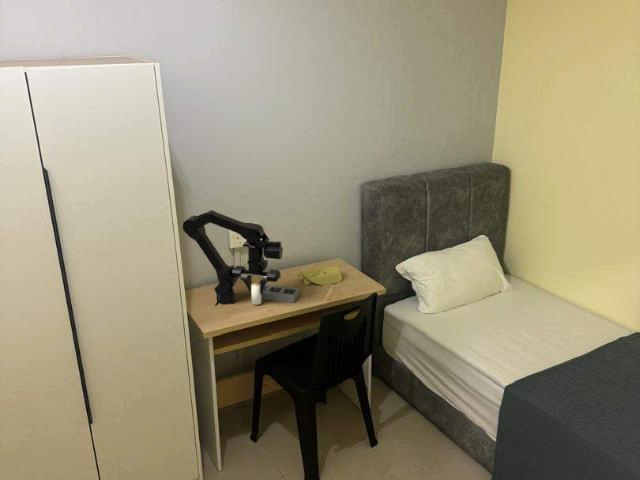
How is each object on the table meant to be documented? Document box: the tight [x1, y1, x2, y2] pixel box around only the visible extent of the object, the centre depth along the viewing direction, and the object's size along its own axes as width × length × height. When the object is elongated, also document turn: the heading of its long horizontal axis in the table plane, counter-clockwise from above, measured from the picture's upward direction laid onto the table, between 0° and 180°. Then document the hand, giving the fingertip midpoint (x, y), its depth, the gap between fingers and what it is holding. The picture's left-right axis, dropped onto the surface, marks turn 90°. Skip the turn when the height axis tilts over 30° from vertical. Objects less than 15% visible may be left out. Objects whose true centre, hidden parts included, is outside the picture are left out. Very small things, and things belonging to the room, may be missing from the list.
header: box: [261, 284, 300, 304], centre depth 242 cm, size 18×8×4 cm, turn 77°
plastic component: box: [295, 265, 342, 286], centre depth 259 cm, size 20×7×10 cm
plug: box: [250, 281, 262, 306], centre depth 234 cm, size 4×4×8 cm
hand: (256, 293), depth 234 cm, fingers closed on plug, 4 cm apart
